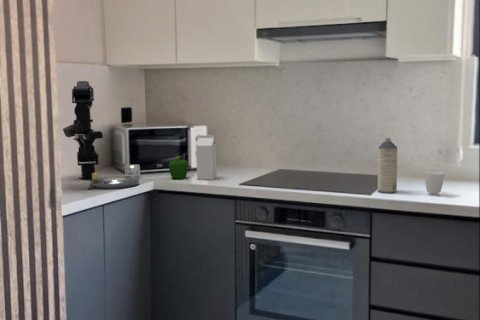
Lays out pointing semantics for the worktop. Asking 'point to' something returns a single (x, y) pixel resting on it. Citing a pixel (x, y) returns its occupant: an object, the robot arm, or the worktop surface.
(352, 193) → the worktop surface
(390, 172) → the aerosol can
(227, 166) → the worktop surface
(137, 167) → the cover
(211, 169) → the milk carton
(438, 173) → the cup
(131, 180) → the turntable
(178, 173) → the bell pepper
